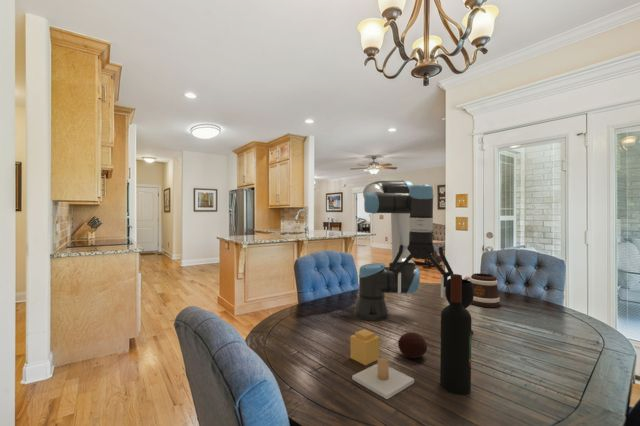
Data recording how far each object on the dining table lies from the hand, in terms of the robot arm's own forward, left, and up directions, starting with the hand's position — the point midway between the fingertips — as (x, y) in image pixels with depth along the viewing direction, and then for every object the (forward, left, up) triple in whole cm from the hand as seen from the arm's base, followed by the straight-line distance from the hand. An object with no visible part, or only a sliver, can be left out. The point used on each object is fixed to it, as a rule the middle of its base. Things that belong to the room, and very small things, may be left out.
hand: (420, 294), depth 102 cm
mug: (-13, +78, -20) cm, 81 cm away
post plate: (+3, -23, -19) cm, 31 cm away
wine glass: (-1, +30, -20) cm, 35 cm away
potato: (0, -4, -20) cm, 20 cm away
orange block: (-9, -17, -19) cm, 28 cm away
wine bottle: (+17, -10, -20) cm, 28 cm away
